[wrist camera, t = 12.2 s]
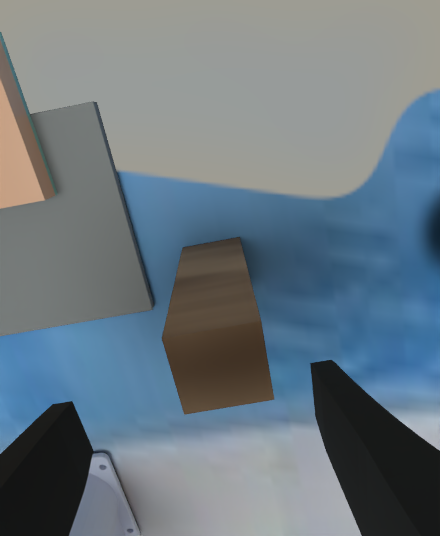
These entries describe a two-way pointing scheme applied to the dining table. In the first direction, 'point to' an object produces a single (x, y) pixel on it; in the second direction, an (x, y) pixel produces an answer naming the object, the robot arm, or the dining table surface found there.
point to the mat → (71, 234)
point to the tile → (19, 144)
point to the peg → (216, 330)
